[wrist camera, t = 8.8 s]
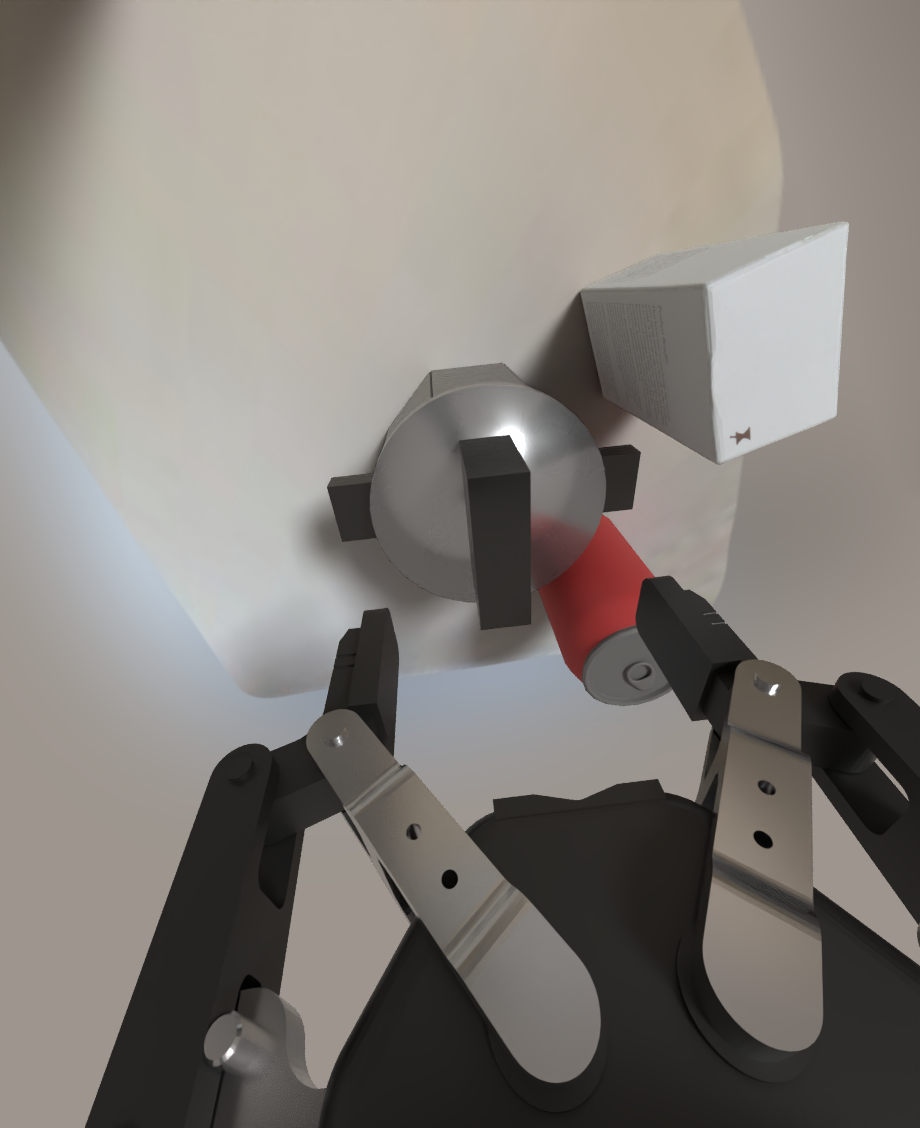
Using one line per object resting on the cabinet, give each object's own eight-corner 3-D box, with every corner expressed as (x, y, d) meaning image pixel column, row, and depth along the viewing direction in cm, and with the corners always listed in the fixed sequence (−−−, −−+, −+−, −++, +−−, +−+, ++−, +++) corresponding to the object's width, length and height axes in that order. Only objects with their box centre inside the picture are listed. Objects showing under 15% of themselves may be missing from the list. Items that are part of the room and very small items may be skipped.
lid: (346, 397, 18) (320, 433, 14) (611, 367, 18) (670, 393, 14) (394, 604, 24) (387, 675, 20) (591, 581, 24) (627, 647, 20)
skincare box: (673, 367, 25) (840, 422, 15) (601, 398, 25) (714, 471, 15) (657, 247, 22) (858, 213, 12) (576, 286, 22) (699, 287, 12)
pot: (334, 381, 24) (304, 412, 18) (598, 352, 24) (654, 373, 18) (370, 535, 29) (356, 597, 24) (585, 511, 29) (625, 567, 24)
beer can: (547, 595, 33) (599, 728, 23) (510, 534, 30) (551, 657, 20) (627, 557, 32) (719, 682, 22) (596, 487, 29) (688, 596, 19)
